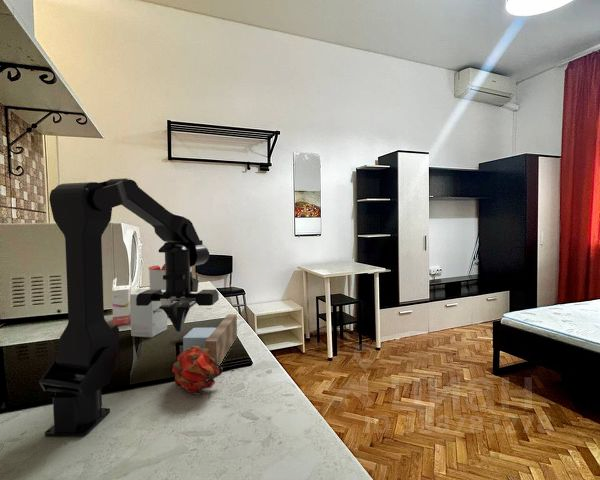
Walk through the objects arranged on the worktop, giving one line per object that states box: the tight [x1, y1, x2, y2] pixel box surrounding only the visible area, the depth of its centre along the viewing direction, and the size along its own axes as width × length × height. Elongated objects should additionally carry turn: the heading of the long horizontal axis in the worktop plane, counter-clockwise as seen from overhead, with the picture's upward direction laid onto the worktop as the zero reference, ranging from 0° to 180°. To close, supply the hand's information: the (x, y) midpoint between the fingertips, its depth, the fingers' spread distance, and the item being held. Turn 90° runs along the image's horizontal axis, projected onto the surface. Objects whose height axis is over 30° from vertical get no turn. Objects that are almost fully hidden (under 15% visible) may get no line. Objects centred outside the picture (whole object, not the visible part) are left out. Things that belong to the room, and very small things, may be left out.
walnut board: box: [205, 313, 238, 368], centre depth 77 cm, size 20×2×7 cm, turn 179°
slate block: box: [182, 327, 217, 352], centre depth 75 cm, size 7×7×6 cm
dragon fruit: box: [171, 346, 224, 396], centre depth 61 cm, size 8×8×12 cm
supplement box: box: [130, 289, 168, 338], centre depth 91 cm, size 7×7×13 cm
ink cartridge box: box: [111, 277, 132, 326], centre depth 103 cm, size 9×5×15 cm, turn 25°
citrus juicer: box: [148, 263, 193, 305], centre depth 117 cm, size 16×17×20 cm
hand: (179, 331), depth 75 cm, fingers closed
